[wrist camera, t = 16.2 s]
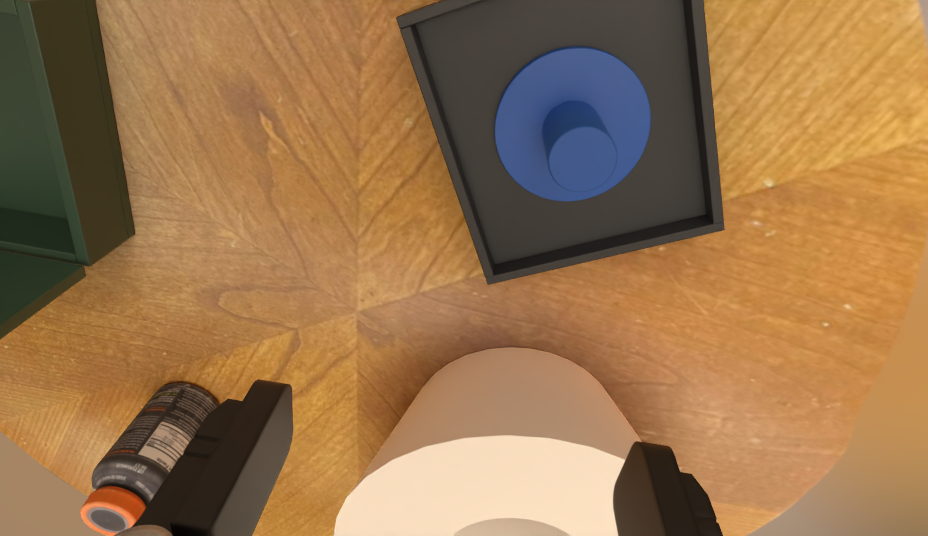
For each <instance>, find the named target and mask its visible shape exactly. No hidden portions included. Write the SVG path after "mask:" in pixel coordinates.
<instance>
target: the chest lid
mask: <svg viewBox="0 0 928 536" xmlns="http://www.w3.org/2000/svg"><path fill="white" fill-rule="evenodd" d="M85 276H86V273H85V269H84V266H82V265H77V264H71V263H65V262H60V261H54V260H48V259H43V258H37V257H32V256H26V255H20V254H15V253H9V252H3V251H0V339H1V338H3V337H4V336H5V335H7V334H8V333H9V332H11V331H12V330H14V329H15V328H16V327H18V326H19V325H20V324H22V323H23V322H24V321H26V320H27V319H28V318H30V317H31V316H33V315H34V314H35V313H37V312H38V311H39V310H41V309H42V308H43V307H45V306H46V305H47V304H49V303H50V302H51V301H53V300H54V299H56V298H57V297H58V296H60V295H61V294H62V293H64V292H65V291H66V290H68V289H69V288H70V287H72V286H73V285H74V284H76V283H77V282H79V281H80V280H81V279H83V278H84V277H85Z"/></svg>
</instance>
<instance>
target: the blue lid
mask: <svg viewBox="0 0 928 536" xmlns="http://www.w3.org/2000/svg"><path fill="white" fill-rule="evenodd" d="M650 126H651V111H650V104H649V100H648V96H647V94H646V91H645V88H644V86H643V85H642V83H641V81H640V79H639V78H638V77H637V75H636V74H635V73H634V71H633V70H632V69H631V68H630V67H629V66H628V65H626V64H625V63H624V62H623V61H622V60H620V59H619V58H617V57H616V56H614V55H612V54H610V53H608V52H606V51H604V50H600V49H597V48H593V47H587V46H569V47H562V48H558V49H554V50H551V51H549V52H546V53H543V54H542V55H540V56H538V57H536V58H534V59H533V60H531V61H530V62H529V63H527V64H526V65H525V66H524V67H522V68H521V69H520V70H519V71H518V72H517V73H516V75H515V76H514V77H513V78H512V79H511V81H510V82H509V84H508V85H507V87H506V88H505V90H504V92H503V94H502V96H501V99H500V101H499V105H498V108H497V112H496V118H495V143H496V147H497V151H498V154H499V157H500V160H501V162H502V164H503V165H504V167H505V169H506V170H507V172H508V173H509V175H510V176H511V177H512V178H513V179H514V180H515V181H516V182H517V183H518V184H519V185H520V186H522V187H523V188H524V189H526V190H528V191H529V192H531V193H533V194H535V195H537V196H539V197H542V198H546V199H549V200H555V201H578V200H584V199H588V198H591V197H594V196H597V195H599V194H601V193H604V192H606V191H607V190H609V189H611V188H612V187H614V186H615V185H616V184H618V183H619V182H620V181H622V180H623V179H624V178H625V177H626V176H627V175H628V174H629V173H630V171H631V170H632V169H633V168H634V167H635V165H636V164H637V162H638V161H639V159H640V157H641V155H642V153H643V151H644V149H645V147H646V144H647V141H648V138H649V132H650Z"/></svg>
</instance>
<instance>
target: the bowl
mask: <svg viewBox="0 0 928 536" xmlns="http://www.w3.org/2000/svg"><path fill="white" fill-rule="evenodd" d="M636 441H639V442H642V441H641V440H640V438H639V437H638V435H637V434H636V433H635V431H634V430H633V428H632V427H631V426H630V424H629V423H628V421H627V420H626V418H625V417H624V416H623V414H622V413H621V411H620V410H619V409H618V407H617V406H616V404H615V403H614V402H613V400H612V399H611V397H610V396H609V394H608V393H607V392H606V390H605V389H604V387H603V386H602V385H601V383H600V382H599V381H598V380H596V379H595V378H594V377H593V376H592V375H591V374H590V373H589V372H588V371H587V370H585V369H583V368H582V367H580V366H579V365H577V364H575V363H574V362H572V361H570V360H568V359H565V358H563V357H560V356H558V355H555V354H553V353H549V352H545V351H540V350H536V349H531V348H515V347H505V348H494V349H486V350H482V351H479V352H475V353H471V354H467V355H465V356H463V357H461V358H459V359H456V360H454V361H452V362H450V363H448V364H447V365H446V366H444V367H443V368H441V369H440V370H439V371H437V372H436V373H435V374H434V375H433V376H432V377H431V378H430V379H429V380H428V381H427V382H426V384H425V385H424V386H423V387H422V389H421V390H420V392H419V393H418V395H417V396H416V398H415V399H414V400H413V402H412V403H411V405H410V406H409V408H408V409H407V411H406V412H405V414H404V415H403V416H402V418H401V419H400V421H399V422H398V424H397V425H396V427H395V428H394V430H393V431H392V432H391V434H390V435H389V437H388V438H387V440H386V441H385V443H384V444H383V446H382V447H381V448H380V450H379V451H378V453H377V454H376V456H375V457H374V459H373V460H372V462H371V463H370V464H369V466H368V467H367V469H366V470H365V472H364V473H363V475H362V476H361V478H360V479H359V480H358V482H357V483H356V485H355V486H354V488H353V489H352V491H351V492H350V493H349V495H348V496H347V498H346V500H345V502H344V504H343V506H342V508H341V510H340V512H339V514H338V516H337V518H336V524H335V531H334V536H618V532H617V526H616V521H615V516H614V510H613V491H614V486H615V483H616V480H617V478H618V476H619V473H620V471H621V469H622V467H623V465H624V462H625V460H626V458H627V456H628V453H629V451H630V449H631V447H632V445H633V443H634V442H636Z"/></svg>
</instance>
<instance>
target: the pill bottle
mask: <svg viewBox="0 0 928 536" xmlns="http://www.w3.org/2000/svg"><path fill="white" fill-rule="evenodd" d="M218 406H219V405H218V403H217V402H216V400H215V399H214V398H213V397H212V396H211V395H210V394H208V393H207V392H206V391H204V390H203V389H201V388H198V387H196V386H194V385H190V384H185V383H171V384H167V385H165V386H162V387H161V388H160V389H159V390H158V391H157V392H156V393H155V394H154V395H153V396H152V398H151V399H150V400H149V401H148V403H147V404H146V405H145V406H144V408H143V409H142V410H141V412H140V413H139V414H138V415H137V416H136V418H135V419H134V420H133V421H132V423H131V424H130V425H129V426H128V427H127V429H126V430H125V431H124V433H123V434H122V435H121V436H120V437H119V439H118V440H117V441H116V443H115V444H114V445H113V446H112V448H111V449H110V450H109V451H108V453H107V454H106V455H105V456H104V458H103V459H102V460H101V461H100V462H99V464H98V465H97V466H96V468H95V469H94V471H93V474H92V487H93V489H94V492H92V493H91V494H90V496H89V498H88V499H87V501H86V502H85V504H84V505H83V506H82V508H81V511H80V515H81V518H82V520H83V521H84V522H85V523H86V525H88V526H89V527H90V528H92V529H93V530H95V531H97V532H99V533H101V534H104V535H107V536H114V535H116V534H117V533H119V532H121V531H123V530H126V529H128V528H131V527H132V526H133V525H134V524H135V523H136V521H137V520H138V519H139V518H140V516H141V515H142V513H143V512H144V510H145V509H146V507H147V506H148V504H149V503H150V501H151V500H152V498H153V497H154V495H155V494H156V492H157V491H158V489H159V488H160V486H161V484H162V483H163V481H164V480H165V478H166V477H167V475H168V474H169V472H170V471H171V469H172V468H173V466H174V465H175V463H176V462H177V460H178V459H179V457H180V456H181V455H183V453H184V450H185V448H186V447H187V445H188V444H189V442H190V441H191V439H192V438H194V436H195V433H196V431H197V430H198V428H199V427H200V425H201V424H202V422H203V421H204V419H205V418H206V416H207V415H208V414H209V413H210V412H212V411H213V410H214V409H216V408H217V407H218Z"/></svg>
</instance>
